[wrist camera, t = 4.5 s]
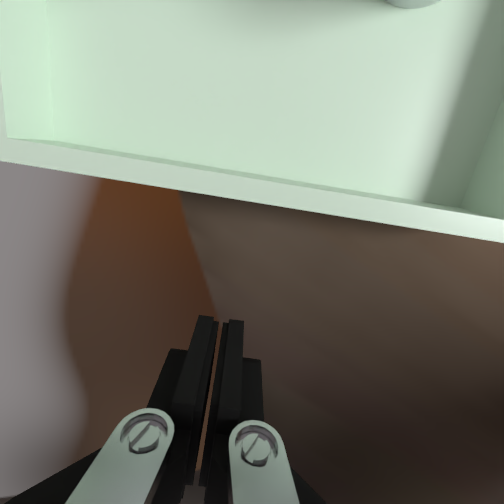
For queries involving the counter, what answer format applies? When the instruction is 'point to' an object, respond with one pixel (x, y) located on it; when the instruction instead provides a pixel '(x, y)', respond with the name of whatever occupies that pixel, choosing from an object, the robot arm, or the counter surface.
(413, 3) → the grey rounded piece
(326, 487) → the counter surface
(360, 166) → the tray
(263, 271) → the counter surface
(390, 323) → the counter surface
